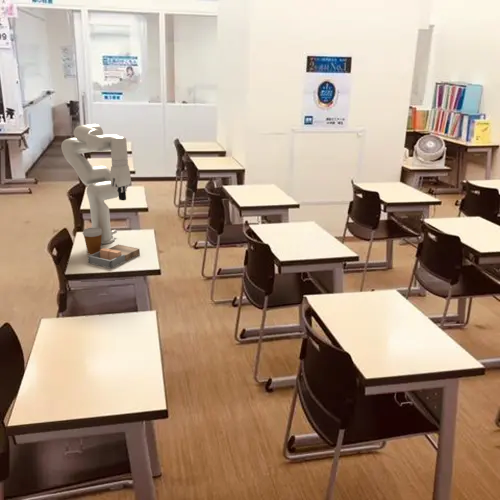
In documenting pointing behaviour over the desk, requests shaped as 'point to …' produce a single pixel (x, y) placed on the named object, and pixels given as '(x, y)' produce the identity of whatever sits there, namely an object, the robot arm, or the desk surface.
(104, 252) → the tile
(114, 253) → the tile
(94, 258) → the tray
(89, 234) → the disposable coffee cup
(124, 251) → the brown wooden slab
